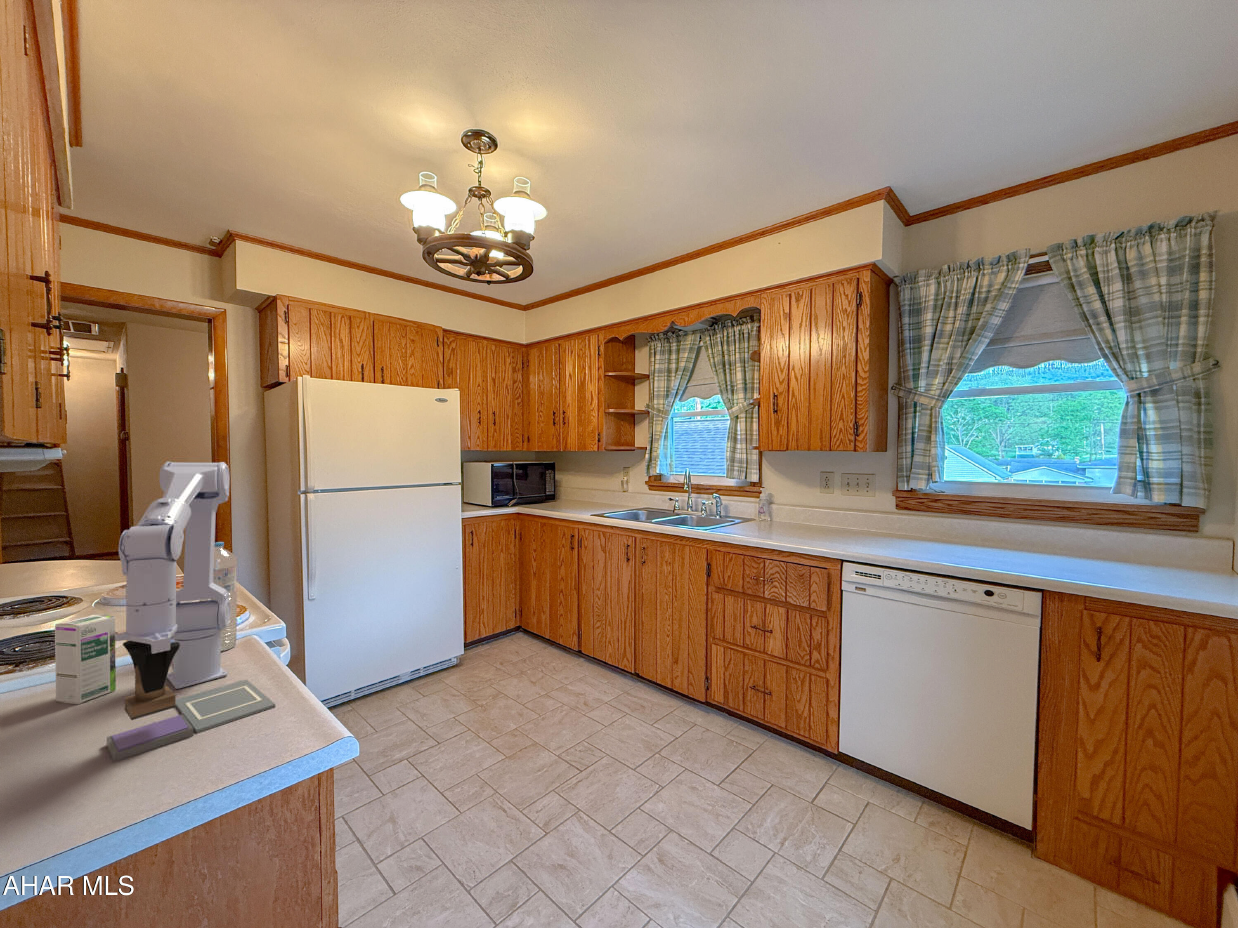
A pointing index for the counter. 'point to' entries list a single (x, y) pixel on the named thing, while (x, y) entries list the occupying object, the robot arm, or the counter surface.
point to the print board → (222, 705)
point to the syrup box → (85, 658)
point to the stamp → (148, 700)
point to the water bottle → (227, 580)
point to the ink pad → (148, 737)
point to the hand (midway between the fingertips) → (151, 686)
